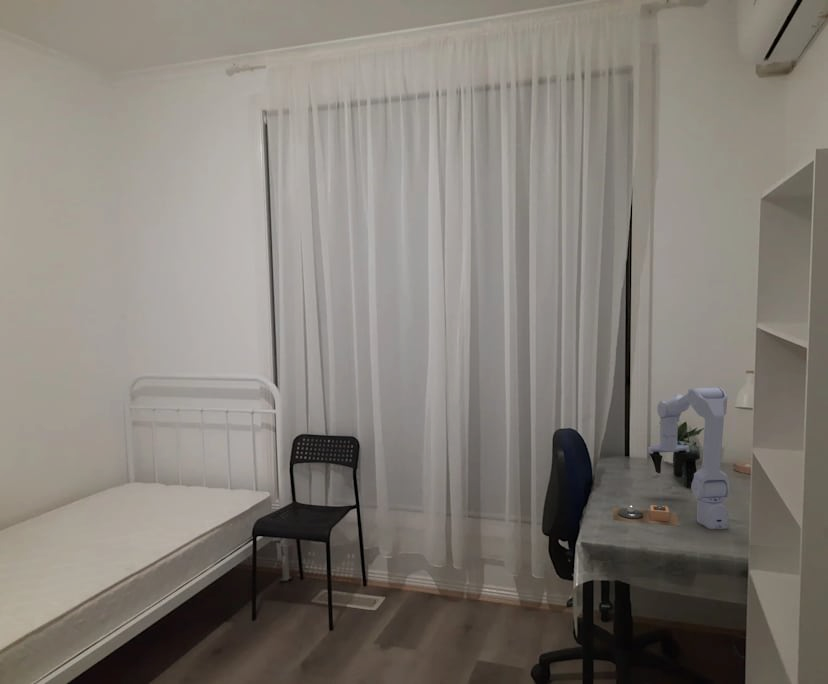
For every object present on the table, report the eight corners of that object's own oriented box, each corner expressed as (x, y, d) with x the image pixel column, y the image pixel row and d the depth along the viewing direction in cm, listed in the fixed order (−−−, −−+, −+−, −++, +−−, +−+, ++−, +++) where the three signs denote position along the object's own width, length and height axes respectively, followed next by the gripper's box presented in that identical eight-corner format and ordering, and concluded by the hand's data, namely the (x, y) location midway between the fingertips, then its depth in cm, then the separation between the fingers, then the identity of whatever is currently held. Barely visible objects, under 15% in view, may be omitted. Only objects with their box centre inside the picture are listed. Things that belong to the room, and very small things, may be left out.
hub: (642, 512, 209) (643, 502, 209) (643, 520, 202) (643, 510, 202) (618, 510, 212) (618, 500, 212) (618, 517, 205) (618, 508, 204)
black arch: (700, 489, 236) (702, 437, 235) (682, 489, 237) (683, 437, 236) (684, 474, 256) (685, 425, 254) (667, 474, 257) (668, 425, 255)
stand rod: (662, 516, 205) (662, 506, 205) (662, 518, 203) (663, 508, 203) (655, 516, 206) (656, 505, 205) (656, 518, 204) (656, 507, 203)
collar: (667, 515, 206) (667, 506, 206) (668, 521, 201) (669, 512, 201) (650, 513, 208) (650, 505, 207) (650, 519, 203) (650, 510, 202)
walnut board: (676, 517, 208) (676, 512, 208) (679, 530, 197) (679, 526, 197) (613, 511, 215) (613, 507, 214) (612, 524, 203) (612, 519, 203)
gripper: (681, 431, 229) (681, 468, 230) (643, 433, 228) (643, 469, 229) (692, 435, 222) (691, 473, 223) (653, 437, 221) (653, 475, 222)
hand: (668, 472), depth 226 cm, fingers open, 7 cm apart
